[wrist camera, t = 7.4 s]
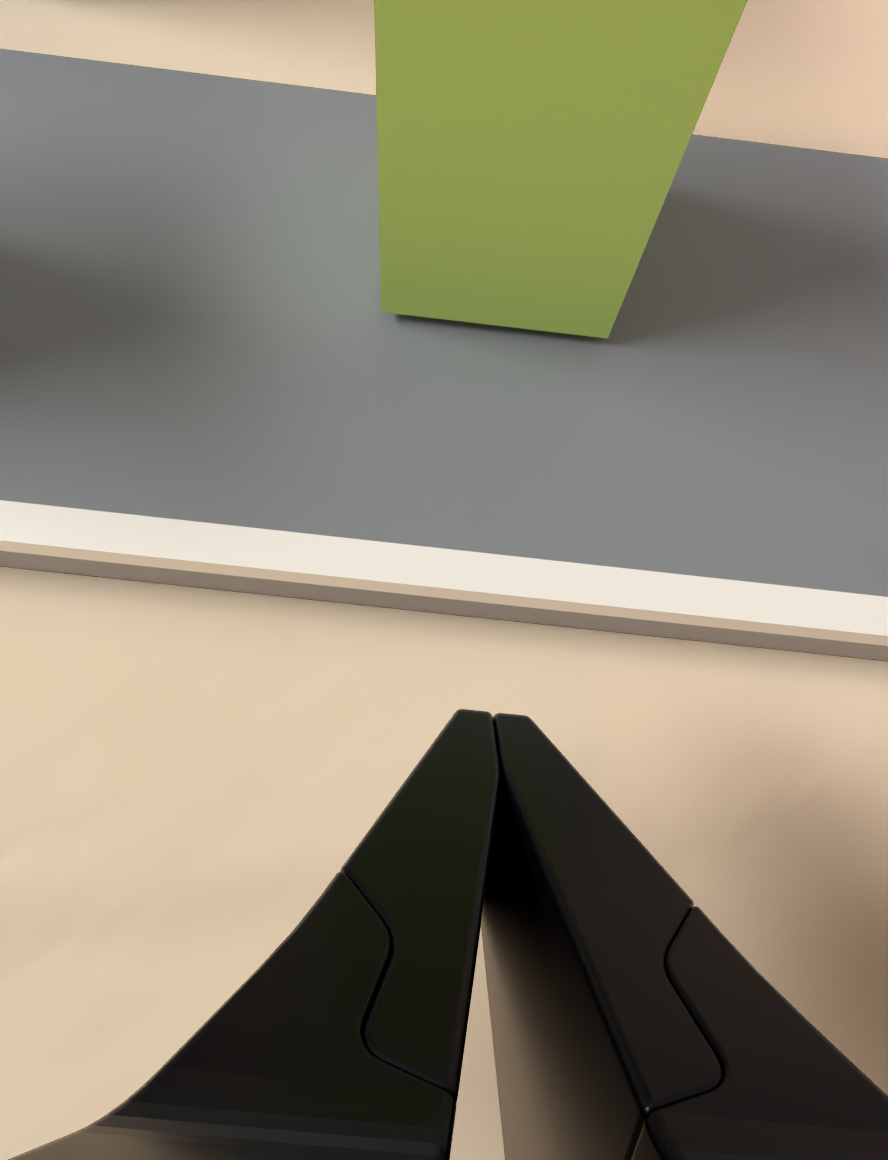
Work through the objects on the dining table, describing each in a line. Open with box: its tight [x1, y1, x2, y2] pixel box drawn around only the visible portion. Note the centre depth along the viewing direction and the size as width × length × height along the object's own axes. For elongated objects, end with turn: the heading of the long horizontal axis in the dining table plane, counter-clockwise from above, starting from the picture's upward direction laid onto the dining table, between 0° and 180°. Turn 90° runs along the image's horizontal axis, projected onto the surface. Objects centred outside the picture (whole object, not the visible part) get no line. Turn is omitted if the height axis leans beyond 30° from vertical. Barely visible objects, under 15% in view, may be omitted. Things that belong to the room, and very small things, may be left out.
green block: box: [374, 0, 747, 338], centre depth 14 cm, size 5×5×8 cm
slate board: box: [0, 49, 888, 661], centre depth 18 cm, size 13×40×2 cm, turn 85°
